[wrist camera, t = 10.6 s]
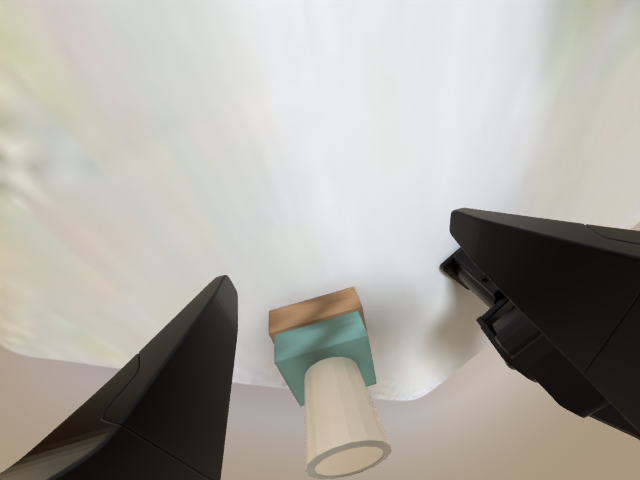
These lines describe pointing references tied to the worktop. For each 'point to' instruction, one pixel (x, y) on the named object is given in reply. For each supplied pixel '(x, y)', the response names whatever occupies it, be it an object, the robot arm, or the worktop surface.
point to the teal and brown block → (320, 337)
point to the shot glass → (340, 421)
